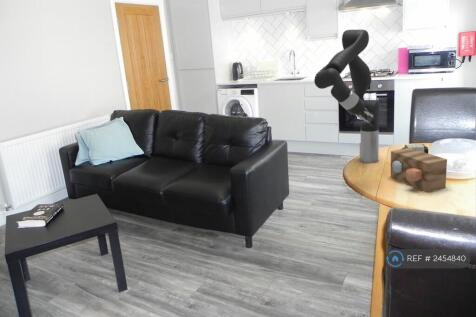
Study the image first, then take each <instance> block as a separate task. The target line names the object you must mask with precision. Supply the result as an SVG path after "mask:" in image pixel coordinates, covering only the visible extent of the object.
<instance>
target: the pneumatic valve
mask: <svg viewBox="0 0 476 317" xmlns="http://www.w3.org/2000/svg"><path fill="white" fill-rule="evenodd" d="M404 148H411V149H415V150H418V151H421V152H425V153H428V154H429V147H428V146H426V145H425V144H424V143H421V144H420V143H419V144H418V143H413V144H412V143H411V144H404V147H402V148H401V149H404Z"/></svg>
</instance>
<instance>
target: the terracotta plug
mask: <svg viewBox="0 0 476 317" xmlns="http://www.w3.org/2000/svg"><path fill="white" fill-rule="evenodd" d="M422 173H423V170H422V169H419V168H413V169H407V170H406V172H405V176H406V179H407V180H408V181H409V182H413V181H416V180H420V179H422Z"/></svg>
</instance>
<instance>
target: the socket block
mask: <svg viewBox="0 0 476 317" xmlns="http://www.w3.org/2000/svg"><path fill="white" fill-rule="evenodd" d="M403 148H404V147H403ZM394 161H399V162H402V163H403V171H402V172H399V173H396V172H394V170H393V168H392V163H393V162H394ZM413 168H419V169H422V170H423V173H422V179H420V180H416V181H413V182H409V181H408V180H407V179H406V176H405V172H406V170H407V169H413ZM447 168H448V158H444V157H441V156H438V155H434V154H432V153H431V154H430V153H429V152H428V153H425V152H421V151H418V150H415V149H411V148H404V149H402V148H400V149H396V150H391V151H390V178H392V179H393V180H396V181H399V182H402V183H403V184H406V185H408V186H411V187H413V188H416V189H418V190H421V191H423V192H425V193H431V192H434V191H438V190H441V189H445V188H446V186H447Z"/></svg>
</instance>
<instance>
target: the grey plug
mask: <svg viewBox="0 0 476 317" xmlns="http://www.w3.org/2000/svg"><path fill="white" fill-rule="evenodd" d="M392 168H393V170H394V172H396V173H399V172H402V171H403V163H402V162H399V161H394V162H393V163H392Z"/></svg>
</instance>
